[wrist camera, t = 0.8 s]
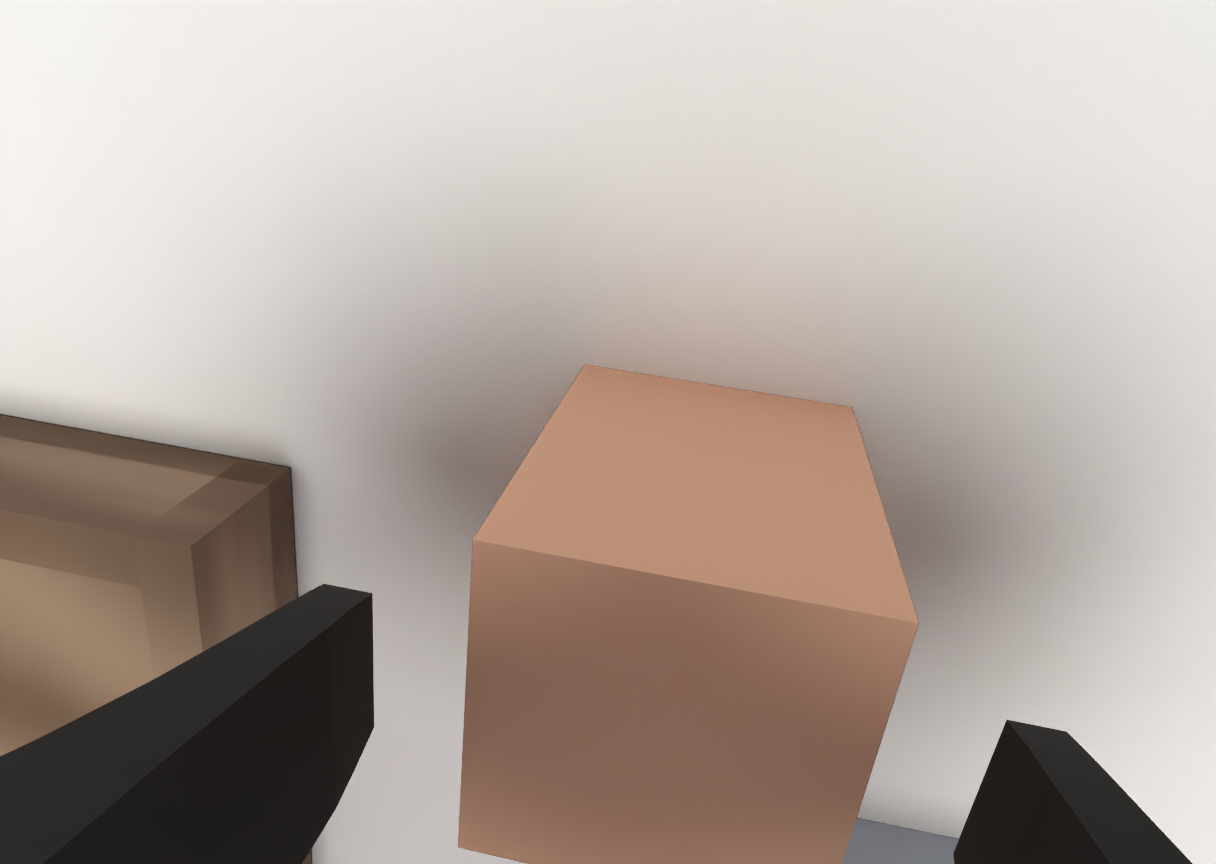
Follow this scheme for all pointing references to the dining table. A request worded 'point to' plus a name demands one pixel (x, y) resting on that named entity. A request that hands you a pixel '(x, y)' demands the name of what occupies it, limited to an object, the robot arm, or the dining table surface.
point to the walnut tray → (125, 565)
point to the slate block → (896, 845)
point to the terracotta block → (680, 632)
